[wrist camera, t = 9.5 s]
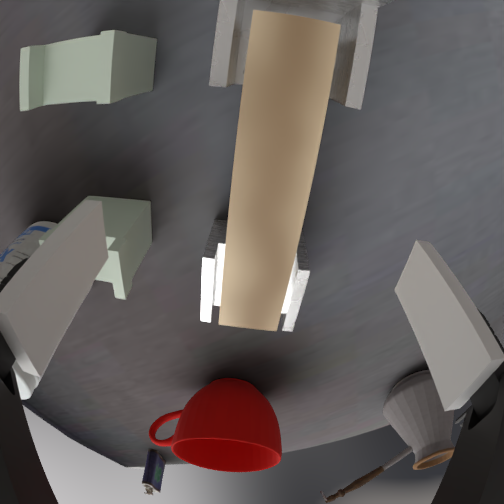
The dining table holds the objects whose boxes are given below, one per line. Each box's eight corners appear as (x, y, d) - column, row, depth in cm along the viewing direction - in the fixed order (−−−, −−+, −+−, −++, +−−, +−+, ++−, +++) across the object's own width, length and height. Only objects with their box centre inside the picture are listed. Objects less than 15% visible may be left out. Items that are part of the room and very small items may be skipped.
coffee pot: (453, 350, 34) (489, 444, 22) (445, 389, 40) (469, 468, 27) (306, 395, 39) (311, 497, 27) (322, 426, 45) (328, 508, 32)
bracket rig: (210, 277, 29) (185, 390, 18) (240, -10, 15) (212, -83, 5) (289, 287, 29) (296, 402, 19) (345, 7, 16) (420, -41, 6)
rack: (90, 234, 27) (51, 284, 20) (83, 45, 17) (20, 48, 11) (155, 242, 27) (125, 299, 20) (161, 38, 17) (114, 29, 11)
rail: (224, 287, 25) (218, 324, 21) (256, 22, 14) (253, 9, 11) (275, 293, 25) (276, 331, 21) (325, 33, 14) (340, 24, 11)
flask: (167, 462, 61) (160, 499, 52) (155, 460, 61) (148, 497, 52) (157, 450, 56) (149, 491, 47) (145, 447, 56) (135, 488, 47)
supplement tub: (31, 201, 25) (-67, 296, 12) (107, 246, 27) (28, 371, 15) (23, 267, 29) (-44, 358, 17) (88, 307, 32) (33, 413, 20)
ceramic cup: (143, 362, 37) (122, 429, 28) (277, 360, 35) (277, 437, 26) (175, 411, 44) (164, 466, 35) (284, 410, 42) (284, 471, 33)
